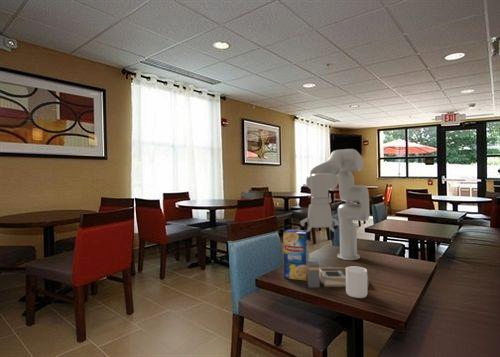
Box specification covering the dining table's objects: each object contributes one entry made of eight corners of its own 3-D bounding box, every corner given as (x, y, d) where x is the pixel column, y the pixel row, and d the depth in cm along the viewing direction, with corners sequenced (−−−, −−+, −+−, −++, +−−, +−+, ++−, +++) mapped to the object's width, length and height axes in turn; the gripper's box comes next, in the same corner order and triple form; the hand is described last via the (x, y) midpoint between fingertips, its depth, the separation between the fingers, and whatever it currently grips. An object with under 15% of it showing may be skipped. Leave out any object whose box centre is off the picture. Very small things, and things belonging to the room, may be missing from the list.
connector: (307, 283, 133) (307, 261, 133) (317, 283, 133) (317, 261, 133) (309, 287, 129) (308, 264, 129) (319, 287, 128) (319, 264, 128)
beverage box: (306, 280, 137) (305, 233, 136) (283, 277, 141) (283, 232, 141) (309, 275, 143) (308, 230, 143) (287, 273, 147) (287, 229, 147)
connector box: (318, 275, 143) (318, 267, 143) (358, 275, 142) (357, 267, 142) (324, 287, 129) (324, 277, 129) (368, 286, 128) (368, 277, 128)
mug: (345, 286, 129) (345, 262, 129) (366, 288, 126) (365, 264, 126) (346, 297, 118) (345, 271, 117) (368, 299, 115) (367, 273, 115)
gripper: (336, 200, 134) (337, 238, 133) (298, 201, 134) (299, 238, 134) (341, 202, 126) (342, 241, 126) (301, 202, 126) (301, 242, 126)
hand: (320, 240), depth 130 cm, fingers open, 9 cm apart
